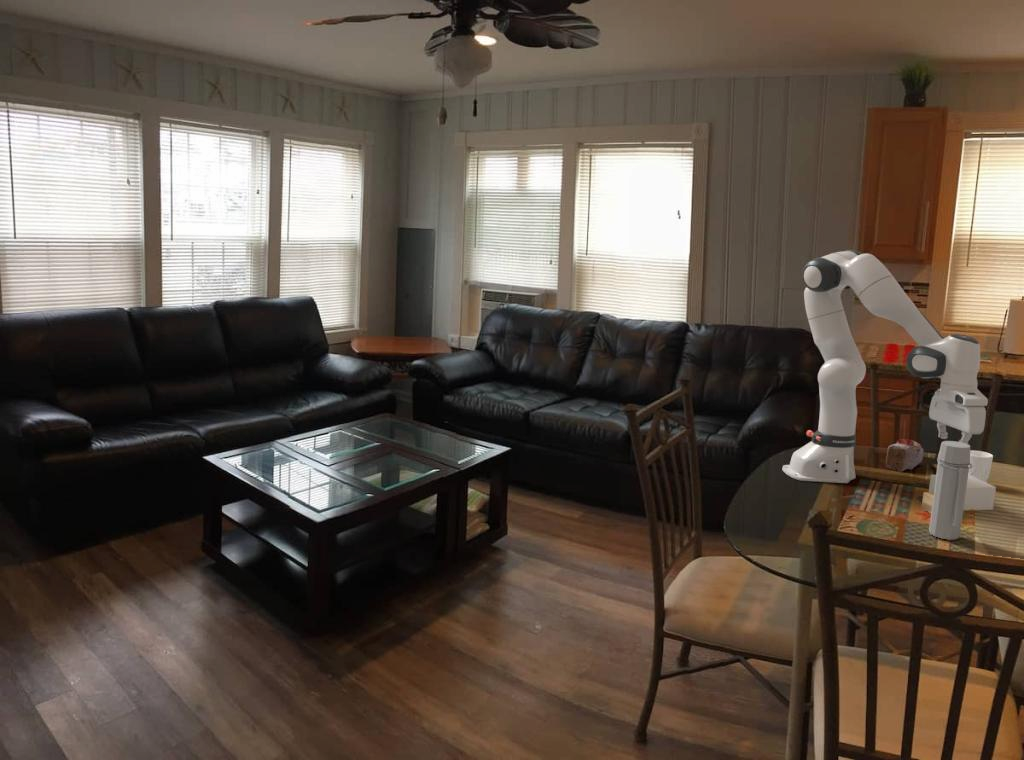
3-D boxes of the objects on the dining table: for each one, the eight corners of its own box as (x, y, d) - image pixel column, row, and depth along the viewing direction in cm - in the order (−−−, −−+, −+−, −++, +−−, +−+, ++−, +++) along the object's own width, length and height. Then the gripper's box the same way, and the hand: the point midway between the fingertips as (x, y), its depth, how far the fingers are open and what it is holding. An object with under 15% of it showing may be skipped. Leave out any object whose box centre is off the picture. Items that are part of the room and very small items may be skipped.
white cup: (992, 489, 247) (997, 458, 245) (965, 486, 248) (969, 456, 246) (983, 481, 254) (987, 451, 252) (956, 479, 256) (960, 449, 254)
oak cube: (931, 515, 223) (933, 498, 222) (921, 508, 228) (923, 492, 227) (948, 514, 224) (950, 498, 223) (938, 508, 228) (940, 492, 227)
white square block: (954, 511, 227) (957, 488, 226) (927, 497, 239) (930, 474, 237) (992, 510, 228) (996, 487, 227) (964, 496, 240) (967, 474, 239)
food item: (899, 460, 275) (903, 433, 274) (923, 466, 270) (927, 438, 268) (882, 468, 266) (885, 439, 265) (906, 473, 261) (910, 445, 259)
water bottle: (922, 530, 211) (934, 439, 207) (953, 531, 211) (965, 441, 206) (937, 543, 202) (949, 449, 198) (969, 545, 202) (982, 450, 197)
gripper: (925, 387, 229) (920, 433, 231) (969, 400, 208) (963, 451, 211) (946, 387, 229) (941, 433, 231) (992, 400, 209) (986, 451, 211)
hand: (952, 442), depth 221 cm, fingers open, 8 cm apart
